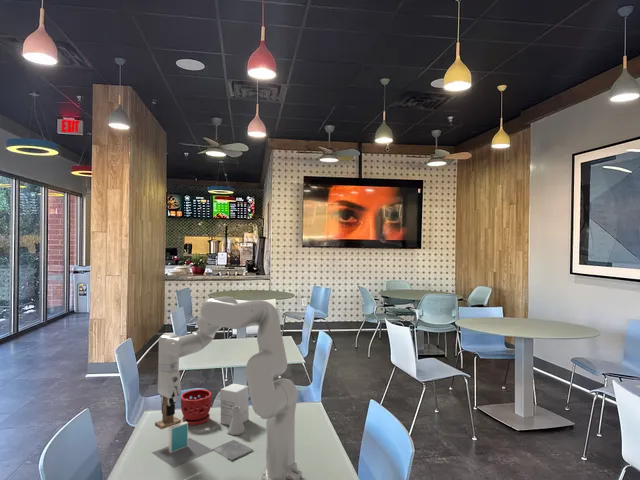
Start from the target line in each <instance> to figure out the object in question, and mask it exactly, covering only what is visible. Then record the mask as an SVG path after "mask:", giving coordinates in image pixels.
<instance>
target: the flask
mask: <svg viewBox="0 0 640 480" xmlns="http://www.w3.org/2000/svg"><path fill="white" fill-rule="evenodd" d="M245 431H246V428H245V425H244V423H242V420H241V417H240V407H238V406H237V407H233V418H232V421H231V424H230V425H229V427H228V430H227V435H230V436H238V435H239V436H240V435H243V434H244V433H245Z"/></svg>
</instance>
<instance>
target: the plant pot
mask: <svg viewBox="0 0 640 480" xmlns="http://www.w3.org/2000/svg"><path fill="white" fill-rule="evenodd" d="M190 397H191V398H190ZM212 399H213V398H212V392H211V391H209V389H202V388H201V389H191V390H187V391H185V392H183V393H181V395H180V409H181V413H182V415H183V416H182V423H183V422H188V426H197V425H202V424H204V423H206V422H208V421H209V419H210V416H211V415H210V410H211V408H212V407H211V406H212Z"/></svg>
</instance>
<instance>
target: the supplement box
mask: <svg viewBox="0 0 640 480" xmlns="http://www.w3.org/2000/svg"><path fill="white" fill-rule="evenodd" d="M249 401H250V400H249V388H248V385H243V384H239V383H231V384H229V385H228V386H225V387H223V388H221V389H220V424H223V425H226V426H230V424H231V421H232V418H233V407H237V406H238V407H240V417H241V420H242V423H243V424H244V423H246V422H247V421H248V420H249V405H250V404H249Z"/></svg>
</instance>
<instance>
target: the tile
mask: <svg viewBox="0 0 640 480" xmlns="http://www.w3.org/2000/svg"><path fill="white" fill-rule="evenodd" d="M188 438H189V425H188V422H183V421H182V422H181V423H179V424H176V425H173V426H170V427H168V446H169V452H170V453H172V452H175V451H177V450H180V449H182V448H185V447H187V446H188Z"/></svg>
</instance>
